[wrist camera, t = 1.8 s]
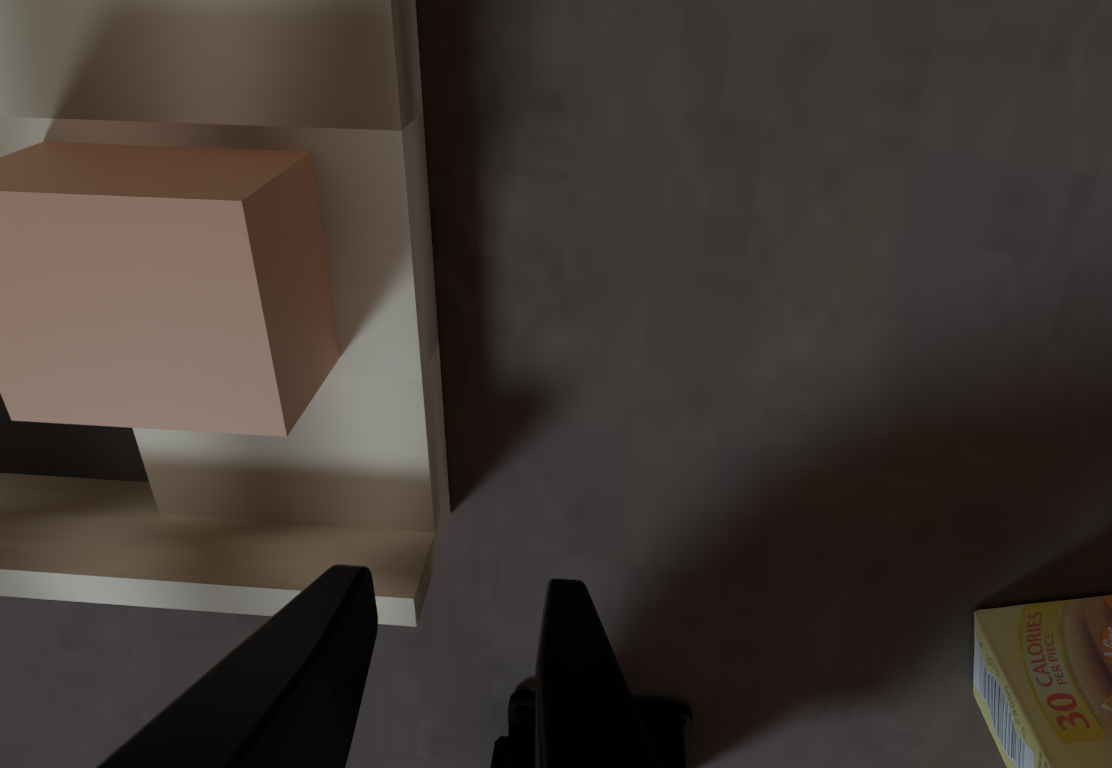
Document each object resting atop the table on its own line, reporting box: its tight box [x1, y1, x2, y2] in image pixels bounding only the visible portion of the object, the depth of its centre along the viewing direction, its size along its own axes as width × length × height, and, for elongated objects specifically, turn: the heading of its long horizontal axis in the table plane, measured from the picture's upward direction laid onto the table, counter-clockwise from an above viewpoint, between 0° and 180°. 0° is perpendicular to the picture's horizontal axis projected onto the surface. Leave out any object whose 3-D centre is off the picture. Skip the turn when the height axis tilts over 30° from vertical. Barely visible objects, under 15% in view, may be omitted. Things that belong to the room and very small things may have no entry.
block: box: [0, 142, 340, 437], centre depth 17 cm, size 6×5×4 cm
